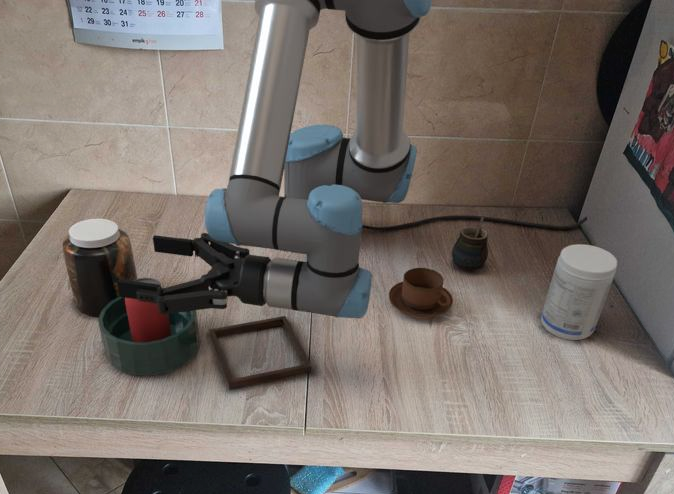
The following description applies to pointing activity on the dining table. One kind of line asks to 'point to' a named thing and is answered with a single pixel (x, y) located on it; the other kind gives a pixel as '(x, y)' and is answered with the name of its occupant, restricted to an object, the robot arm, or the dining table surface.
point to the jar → (97, 263)
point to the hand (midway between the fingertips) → (137, 264)
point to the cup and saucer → (421, 294)
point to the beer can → (146, 318)
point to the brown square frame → (266, 376)
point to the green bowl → (147, 354)
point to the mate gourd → (471, 248)
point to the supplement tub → (578, 291)
